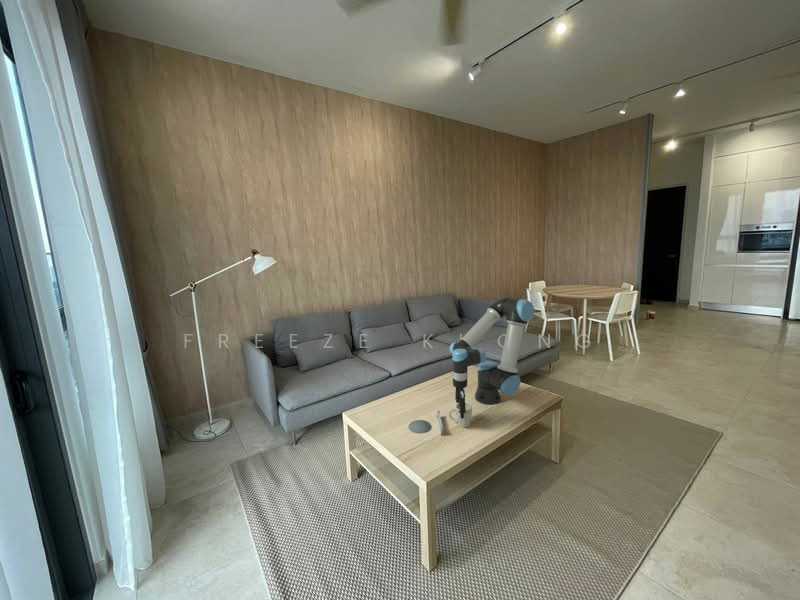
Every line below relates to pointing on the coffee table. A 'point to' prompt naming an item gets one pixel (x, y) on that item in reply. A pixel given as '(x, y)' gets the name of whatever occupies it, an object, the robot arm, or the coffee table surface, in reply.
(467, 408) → the mug
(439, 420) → the fence
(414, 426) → the coaster
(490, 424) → the coffee table surface
